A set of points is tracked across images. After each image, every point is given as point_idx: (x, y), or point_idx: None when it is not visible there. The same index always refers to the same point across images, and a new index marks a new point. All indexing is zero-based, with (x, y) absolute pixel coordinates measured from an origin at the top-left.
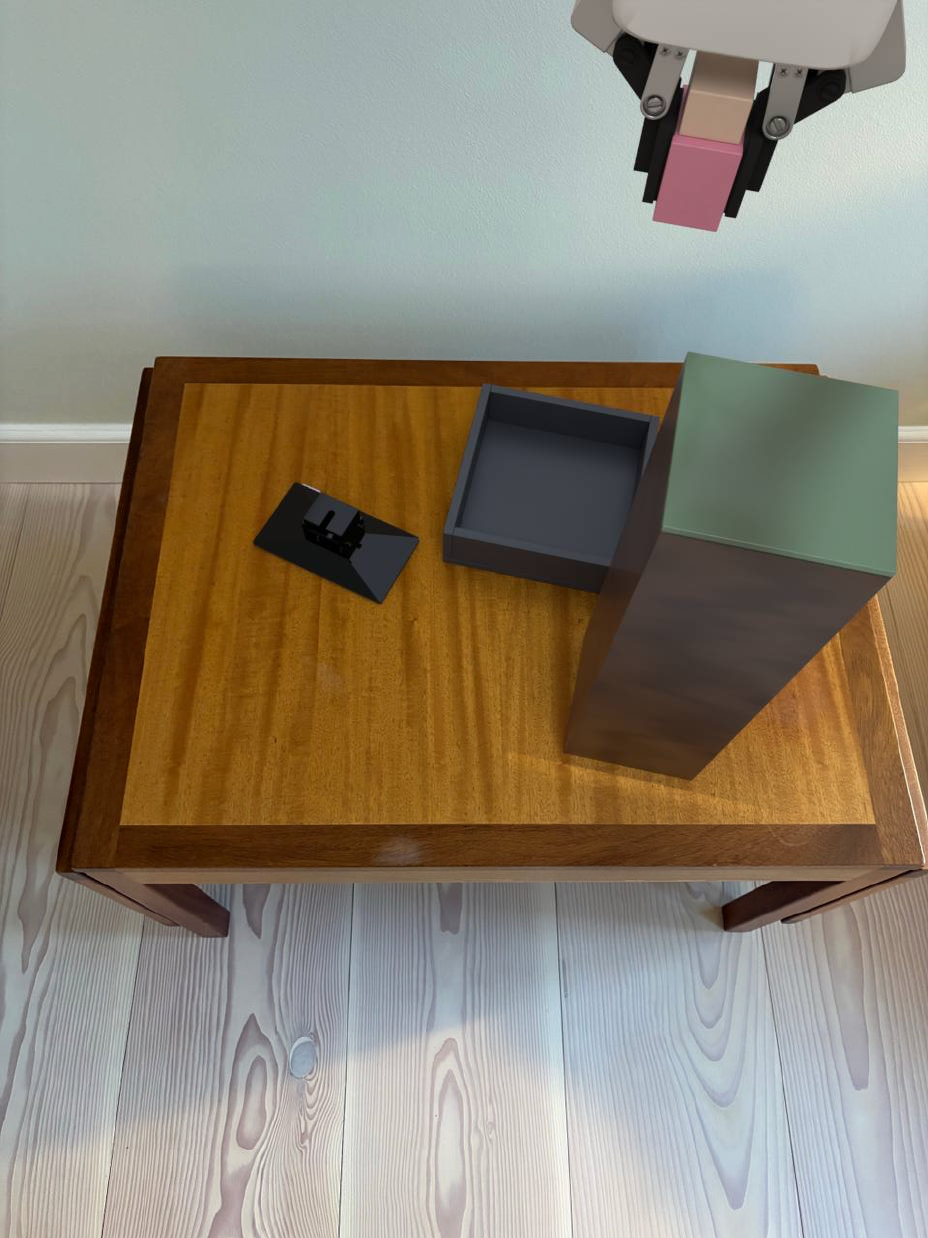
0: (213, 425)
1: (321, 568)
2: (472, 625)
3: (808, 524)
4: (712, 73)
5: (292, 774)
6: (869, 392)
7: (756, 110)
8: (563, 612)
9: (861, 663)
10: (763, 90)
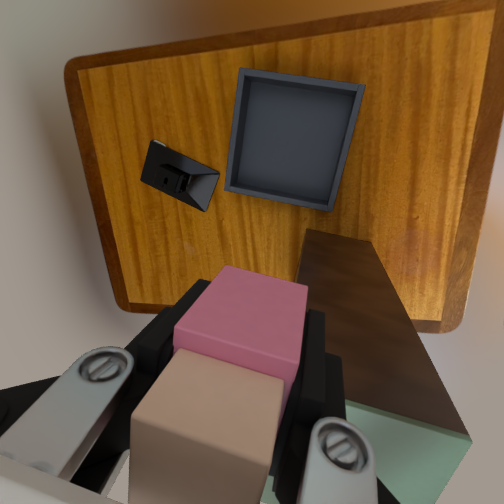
0: (101, 102)
1: (174, 194)
2: (250, 222)
3: None
4: (163, 490)
5: (183, 287)
6: (440, 439)
7: (281, 468)
8: (296, 214)
9: (466, 242)
10: (294, 456)
